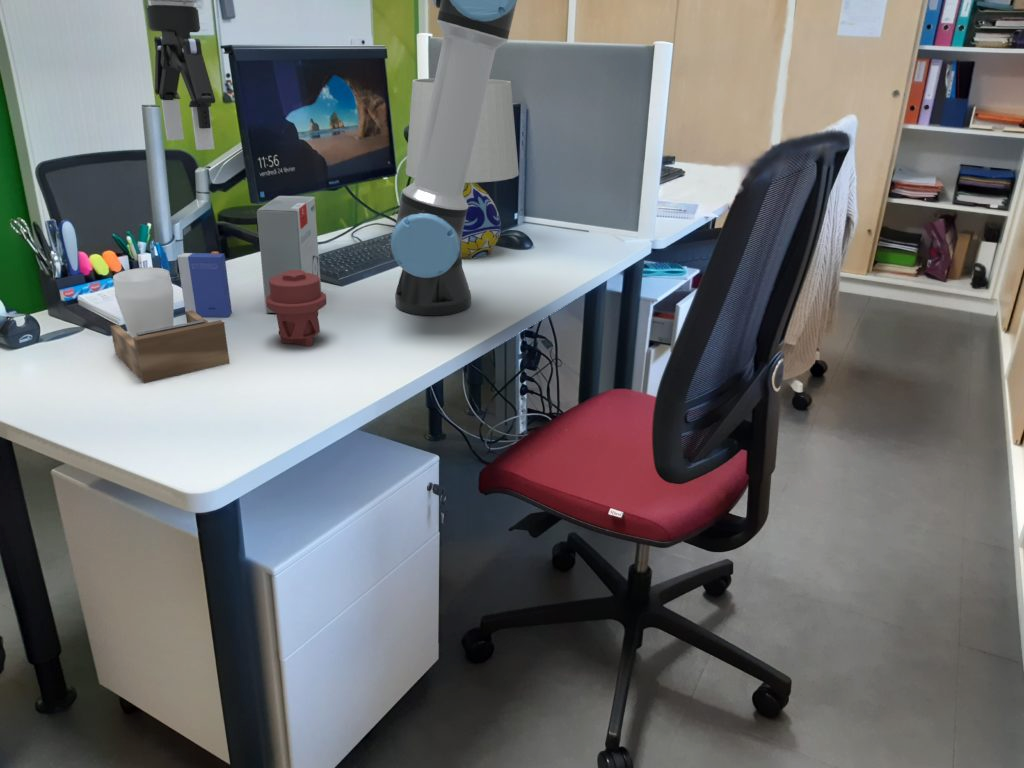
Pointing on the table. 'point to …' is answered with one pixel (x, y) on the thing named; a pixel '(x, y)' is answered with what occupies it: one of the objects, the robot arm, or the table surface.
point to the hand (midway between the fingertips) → (189, 144)
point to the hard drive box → (287, 238)
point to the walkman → (205, 284)
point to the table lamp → (474, 159)
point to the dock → (173, 349)
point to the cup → (144, 299)
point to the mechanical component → (296, 305)
